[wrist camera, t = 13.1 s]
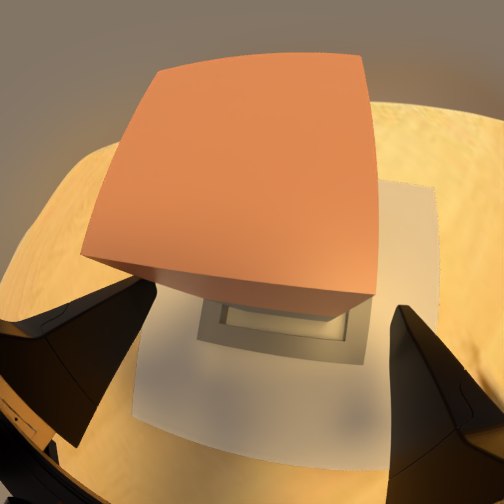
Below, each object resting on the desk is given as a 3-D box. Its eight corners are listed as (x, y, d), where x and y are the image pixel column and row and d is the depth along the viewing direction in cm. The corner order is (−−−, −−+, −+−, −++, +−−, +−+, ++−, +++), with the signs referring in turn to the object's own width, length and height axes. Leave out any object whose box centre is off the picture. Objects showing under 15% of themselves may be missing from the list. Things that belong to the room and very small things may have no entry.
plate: (398, 462, 12) (408, 476, 10) (140, 413, 17) (121, 419, 14) (428, 195, 16) (440, 179, 14) (185, 179, 21) (172, 163, 19)
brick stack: (328, 321, 15) (375, 294, 3) (243, 310, 16) (80, 254, 4) (336, 238, 16) (360, 55, 4) (257, 231, 17) (158, 71, 6)
